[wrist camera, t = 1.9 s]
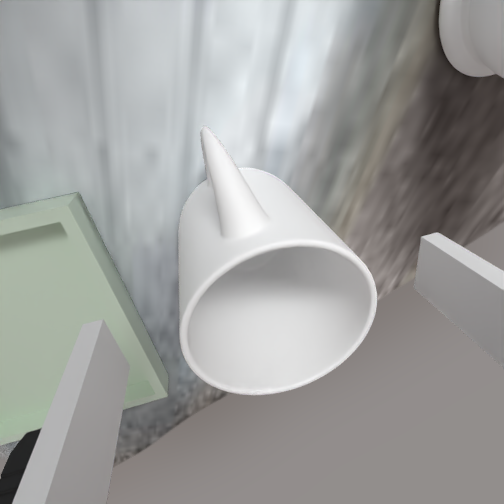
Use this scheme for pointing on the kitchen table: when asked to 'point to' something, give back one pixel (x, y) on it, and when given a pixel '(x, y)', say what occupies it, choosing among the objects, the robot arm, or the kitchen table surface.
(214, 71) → the kitchen table surface
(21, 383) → the tray
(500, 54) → the jar
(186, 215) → the mug
